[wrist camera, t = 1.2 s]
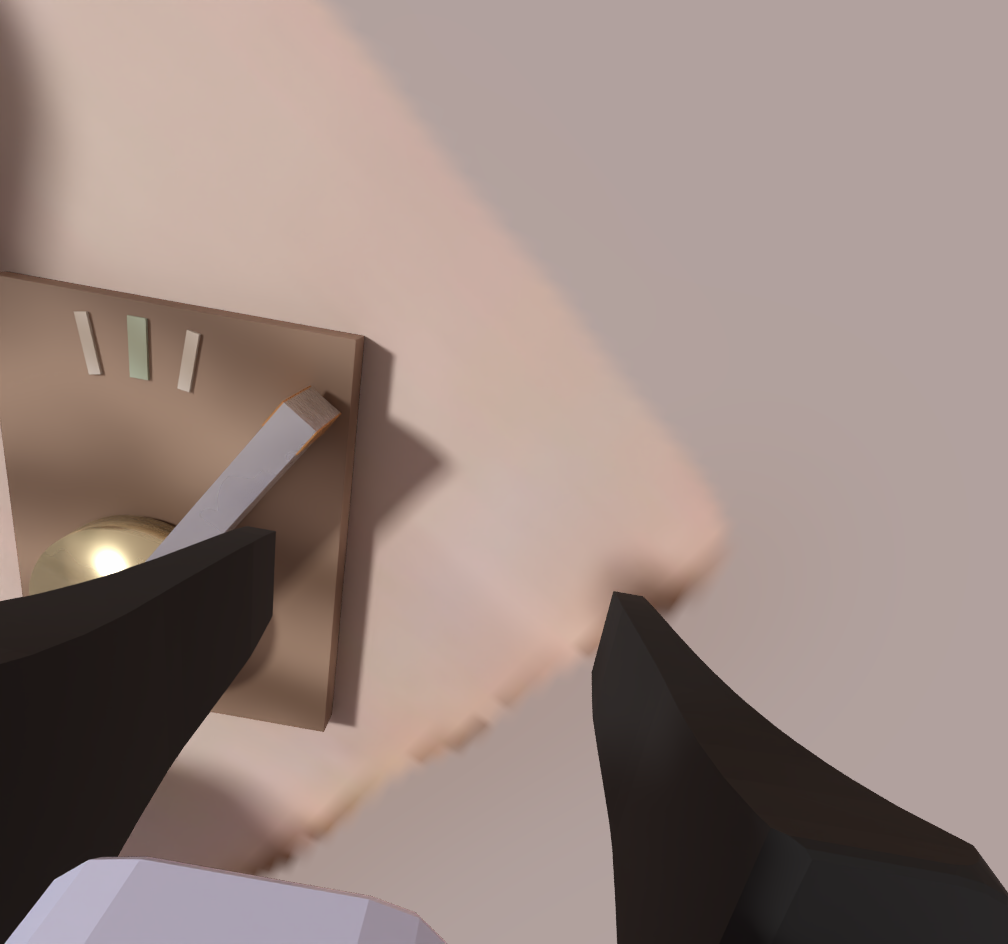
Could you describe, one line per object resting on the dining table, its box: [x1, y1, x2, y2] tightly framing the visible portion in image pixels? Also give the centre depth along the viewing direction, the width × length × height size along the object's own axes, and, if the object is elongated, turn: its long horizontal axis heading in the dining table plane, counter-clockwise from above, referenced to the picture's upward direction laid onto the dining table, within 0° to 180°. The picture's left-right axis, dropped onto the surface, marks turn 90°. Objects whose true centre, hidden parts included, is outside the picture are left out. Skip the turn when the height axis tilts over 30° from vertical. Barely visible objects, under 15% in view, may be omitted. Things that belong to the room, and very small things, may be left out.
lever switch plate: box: [0, 272, 365, 732], centre depth 22 cm, size 16×12×1 cm
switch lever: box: [29, 386, 341, 596], centre depth 20 cm, size 14×7×2 cm, turn 135°
